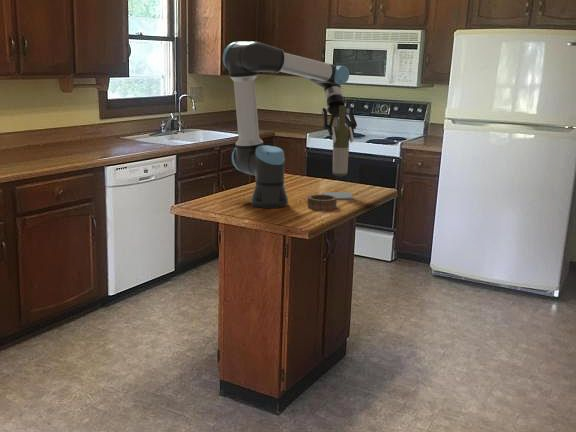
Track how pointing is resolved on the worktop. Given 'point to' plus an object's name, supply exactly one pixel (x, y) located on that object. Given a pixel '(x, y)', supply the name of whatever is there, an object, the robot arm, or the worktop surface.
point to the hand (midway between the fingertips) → (343, 140)
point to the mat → (340, 195)
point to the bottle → (341, 145)
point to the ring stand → (322, 202)
